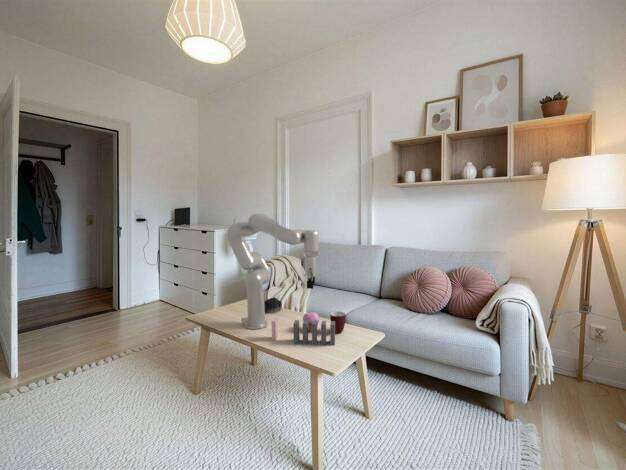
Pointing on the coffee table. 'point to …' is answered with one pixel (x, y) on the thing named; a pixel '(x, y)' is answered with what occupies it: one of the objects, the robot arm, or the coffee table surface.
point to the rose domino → (274, 329)
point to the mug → (338, 321)
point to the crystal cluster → (272, 305)
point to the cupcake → (311, 319)
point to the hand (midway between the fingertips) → (310, 286)
